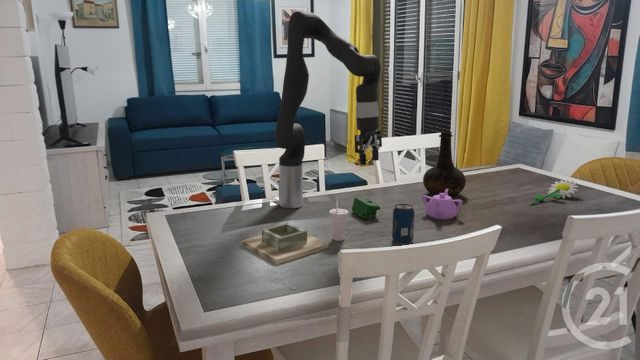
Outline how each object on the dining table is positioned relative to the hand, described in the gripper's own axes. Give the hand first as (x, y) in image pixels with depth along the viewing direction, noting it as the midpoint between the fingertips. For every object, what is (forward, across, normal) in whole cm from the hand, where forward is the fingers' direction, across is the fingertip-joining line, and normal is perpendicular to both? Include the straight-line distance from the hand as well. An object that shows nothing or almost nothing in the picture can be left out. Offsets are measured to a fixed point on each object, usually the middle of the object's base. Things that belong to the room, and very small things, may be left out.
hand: (369, 162), depth 174 cm
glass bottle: (+24, -55, +4) cm, 60 cm away
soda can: (+25, +4, +14) cm, 29 cm away
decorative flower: (+28, -75, +43) cm, 91 cm away
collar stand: (+23, +31, -15) cm, 41 cm away
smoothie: (+24, +15, -4) cm, 28 cm away
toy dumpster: (+23, -12, -10) cm, 28 cm away
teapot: (+25, -28, +14) cm, 40 cm away
